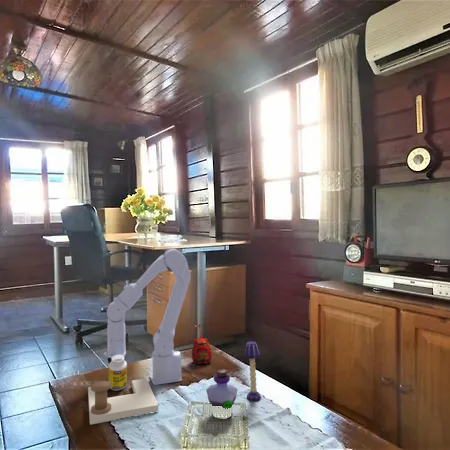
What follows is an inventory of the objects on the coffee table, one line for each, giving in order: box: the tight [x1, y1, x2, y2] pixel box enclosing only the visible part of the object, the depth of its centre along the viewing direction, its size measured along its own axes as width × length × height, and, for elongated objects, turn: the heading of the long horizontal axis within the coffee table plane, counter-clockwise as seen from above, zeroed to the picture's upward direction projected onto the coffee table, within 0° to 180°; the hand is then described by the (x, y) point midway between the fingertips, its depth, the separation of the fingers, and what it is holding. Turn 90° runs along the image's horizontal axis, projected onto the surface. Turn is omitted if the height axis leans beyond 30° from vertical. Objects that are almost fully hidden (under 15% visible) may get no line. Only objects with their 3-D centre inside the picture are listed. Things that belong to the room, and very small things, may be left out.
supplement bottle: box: [108, 355, 128, 392], centre depth 122 cm, size 6×6×10 cm
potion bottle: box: [205, 369, 238, 409], centre depth 105 cm, size 9×9×12 cm
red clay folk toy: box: [191, 320, 213, 365], centre depth 146 cm, size 8×7×15 cm
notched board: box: [87, 378, 159, 426], centre depth 113 cm, size 18×20×9 cm
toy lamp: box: [243, 340, 262, 402], centre depth 115 cm, size 5×5×17 cm
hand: (116, 380), depth 126 cm, fingers closed
